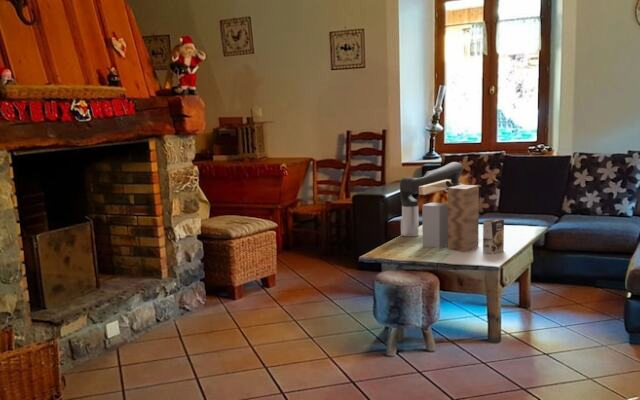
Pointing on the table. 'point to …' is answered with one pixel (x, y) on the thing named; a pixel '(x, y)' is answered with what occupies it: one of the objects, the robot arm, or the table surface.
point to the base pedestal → (435, 224)
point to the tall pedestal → (463, 217)
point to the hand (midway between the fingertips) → (443, 182)
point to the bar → (433, 187)
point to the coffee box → (493, 236)
